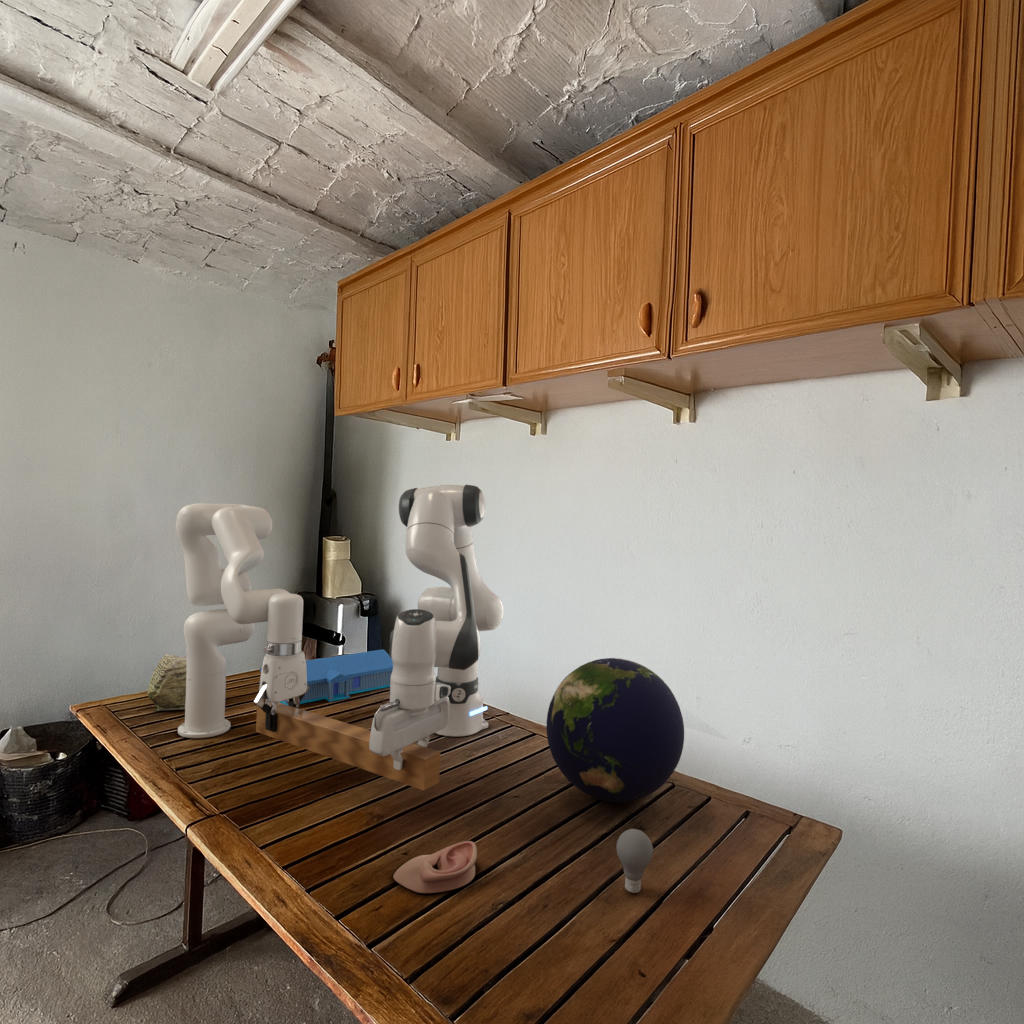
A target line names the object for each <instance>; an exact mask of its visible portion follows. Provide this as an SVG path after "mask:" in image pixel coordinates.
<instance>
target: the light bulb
mask: <svg viewBox="0 0 1024 1024" xmlns="http://www.w3.org/2000/svg"><path fill="white" fill-rule="evenodd" d="M615 849H616V854H617V857H618V859H619V861H620V863H621V865H622V867H623V873H624V874H623V875H624V876H625V878H624V888H625V890H627V891H628V892H630V893H634V894H635V893H639V892H640V891H641V889H642V887H641V886H642V879H643V877H644V875H645V871H646V868H647V867H648V866H649V864H650V863H651V861H652V859H653V855H654V847H653V843H652V841H651V838H649V836H648V835H647V834H646V833H645V832H643V831H642V830H641V829H636V828H629V829H627V830H625V831H623V832H622V833H621V834H620V835H619V837H618V839H617V841H616V847H615Z"/></svg>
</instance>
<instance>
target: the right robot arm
mask: <svg viewBox="0 0 1024 1024" xmlns="http://www.w3.org/2000/svg"><path fill="white" fill-rule="evenodd" d="M486 507H487V505H486V500H485V497H484V494H483V491H482V489H480V488H479V487H478V486H476V485H472V484H465V485H459V484H440V485H434V486H426V487H421V488H417V487H413V488H410V489H406V490H405V491H404V492H403V493H402V494H401V495H400V496H399V500H398V515H399V519H400V522H401V524H402V525H404V526H405V527H406V533H405V540H404V541H405V545H404V547H405V554H406V557H407V558H408V561H409V562H410V563H411V564H412V565H413V566H414V567H415V568H416V569H418V570H419V571H421V572H422V573H424V574H427V575H429V576H432V577H435V578H438V579H439V580H441V581H443V582H445V583H446V584H448V585H449V586H450V587H449V586H448V587H447V586H435V587H429V588H426V589H425V590H424V591H423V592H422V593H420V596H419V598H418V599H417V600H418V601H417V608H414V609H412V608H411V609H407V610H404V611H403V610H402V611H401V612H399V613H398V614H397V615H396V618H395V622H394V628H393V629H392V630H391V632H390V635H389V649H388V651H389V652H388V654H389V656H390V658H391V659H392V662H393V671H392V674H391V680H390V687H389V702H387V703H382V704H380V706H379V708H378V709H377V711H376V712H375V713H374V715H373V718H372V722H371V728H370V730H371V733H370V742H369V749H370V750H371V752H372V753H374V754H376V755H379V756H383V757H384V756H387V755H389V754H391V756H392V758H393V759H394V765H393V766H394V768H395V769H397V770H400V769H402V768H404V767H405V760H406V759H403V758H402V756H401V753H402V752H403V748H404V747H406V746H408V745H410V744H412V743H414V744H415V743H416V742H417V745H420V746H424V747H427V748H428V745H429V742H430V740H431V735H433V734H437V735H440V736H445V737H466V736H472V735H475V734H476V733H478V732H480V731H482V730H485V729H488V728H489V722H488V721H487V720H485V718H484V711H487V710H488V706H487V705H486V706H484V699H483V697H482V696H481V695H480V694H479V693H478V691H479V685H480V683H479V677H478V662H479V658H480V655H481V650H482V649H481V648H482V645H481V644H482V643H481V642H482V641H481V637H480V632H489V631H494V630H496V629H498V627H499V626H500V625H501V623H502V621H503V619H504V614H505V608H504V604H503V602H502V599H501V598H500V597H499V596H498V595H497V594H495V593H494V592H493V591H492V590H491V588H489V586H487V584H486V583H485V581H484V579H483V577H482V576H481V574H480V572H479V568H478V565H477V560H476V552H475V546H474V545H475V543H474V536H473V530H472V527H475V526H476V525H479V524H480V523H481V522H482V521H483V519H484V516H485V513H486ZM435 668H437V675H436V673H435Z"/></svg>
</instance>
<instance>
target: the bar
mask: <svg viewBox="0 0 1024 1024" xmlns="http://www.w3.org/2000/svg"><path fill="white" fill-rule="evenodd" d="M271 705H272V702H271ZM271 705H270V707H271ZM275 714H277V715H278V717H277V731H276V732H272V731H269V730H266V726H265V721H266V713H265V712H263V710H262V709H261V708H260V707H258V706H256V718H255V719H256V720H255V721H256V722H255V724H256V726H255V732H256V733H258V734H261V735H264V736H267V737H270V738H273V739H275V740H277V741H281V742H284V743H286V744H289V745H292V746H295V747H298V748H302V749H304V750H307V751H310V752H313V753H316V754H319V755H322V756H324V757H327V758H329V759H333V760H335V761H338V762H340V763H344V764H347V765H350V766H352V767H355V768H358V769H360V770H364V771H367V772H368V773H369V772H370V773H373V774H375V775H377V776H380V777H383V778H387V779H389V780H392V781H395V782H398V783H401V784H404V785H406V786H409V787H413V788H415V789H418V790H421V791H426V790H428V789H430V788H431V787H434V786H435V785H437V784H439V783H440V778H441V777H440V775H441V774H440V773H441V751H440V750H436V749H434V748H431V747H428V746H427V747H424V746H420V745H418V743H415V742H414V743H412V744H410V745H408V746H406V747H404V748H403V752H402V753H401V756H402V758H403V759H406V760H405V767H404V768H402V769H400V770H397V769H395V768H394V766H393V765H394V759H393V758H392V756H391V754H389V755H387V756H384V757H383V756H379V755H376V754H374V753H372V752H371V750H370V749H369V742H370V733H371V729H367V728H364V727H361V726H357V725H354V724H351V723H348V722H344V721H341V720H339V719H334V718H332V717H331V718H330V717H328V716H325V715H321V714H319V713H316V712H311V711H309V710H305V709H302V708H299V707H297V708H295V707H292V706H289V705H285V704H282V703H279V702H278V704H277V708H276V712H275Z"/></svg>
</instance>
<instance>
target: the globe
mask: <svg viewBox="0 0 1024 1024" xmlns="http://www.w3.org/2000/svg"><path fill="white" fill-rule="evenodd" d="M545 726H546V736H547V737H546V738H547V743H548V747H549V750H550V754H551V756H552V758H553V761H554V763H555V765H556V766H557V768H558V769H559V771H560V772H561V773H562V775H563V776H564V777H565V778H566V780H568V781H569V783H570V784H572V785H573V786H574V787H575V788H576V789H578V790H580V791H581V792H583V793H584V794H586V795H588V796H590V797H592V798H595V799H598V800H601V801H605V802H611V803H628V802H634V801H637V800H641V799H642V798H645V797H647V796H649V795H651V794H653V793H654V792H656V791H657V790H659V789H660V788H661V787H662V786H663V785H665V784H666V782H667V781H668V780H669V779H670V778H671V777H672V776H673V774H674V772H675V770H676V768H677V767H678V764H679V763H680V760H681V757H682V754H683V751H684V743H685V724H684V718H683V713H682V711H681V708H680V705H679V702H678V700H677V698H676V696H675V694H674V693H673V691H672V689H671V688H670V687H669V686H668V684H667V683H666V682H665V681H664V679H662V678H661V677H660V676H659V675H658V674H656V672H654V671H653V670H652V669H649V667H646V666H644V665H643V664H640V663H638V662H635V661H632V660H630V659H625V658H621V657H606V658H605V657H604V658H599V659H594V660H592V661H588V662H586V663H584V664H581V665H580V666H578V667H577V668H575V669H574V670H573V671H571V672H570V673H568V675H566V676H565V677H564V678H563V680H562V681H561V682H560V683H559V685H558V686H557V687H556V690H555V691H554V694H553V695H552V698H551V700H550V703H549V705H548V710H547V715H546V725H545Z"/></svg>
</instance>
